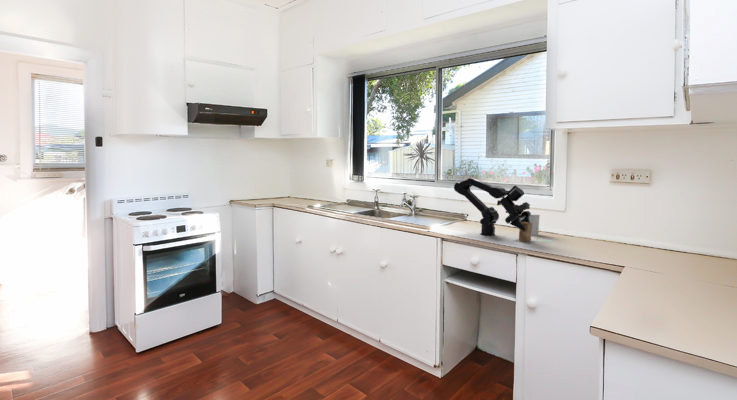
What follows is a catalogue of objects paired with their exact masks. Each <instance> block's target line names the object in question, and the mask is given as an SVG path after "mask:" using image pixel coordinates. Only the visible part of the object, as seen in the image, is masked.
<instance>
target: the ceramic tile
mask: <svg viewBox="0 0 737 400" xmlns="http://www.w3.org/2000/svg"><path fill="white" fill-rule="evenodd" d="M536 241H537V243H538V242H540V243H548V244H554V241H555V240H553V239H546V238H545V239H544V238H537V240H536Z"/></svg>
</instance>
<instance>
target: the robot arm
mask: <svg viewBox="0 0 737 400" xmlns="http://www.w3.org/2000/svg"><path fill="white" fill-rule="evenodd" d="M471 187H475V188H477V189H479V190H481V191H484V192H486V193H487V194H489V195H490V196H491V197H493V198H494V199H496V200H497V199H498V200H497V201H496V202H497V204H496V206H502V207H503V208H504V210H505V213H506V214H508V216H506V217H505V219H504V221H505V223H506V224H507V225H508V224H509V225H512V226H513V227H515V228H517V229H519V230H520V229H521V230H523V231H525V228H524V226H523V225H522V223H521V222H529V223H530V221H529V216H530V214H531V213H532V212H530V206H531V204H529V202H527V201H525V202H523V203H522V204H515V203H514V202H518V200H520V198H522V197H523V196H524V195H525V192H524V190H523V189H521V188H520V187H518V186H517V185H514V186H513V187H511V188H510V189H509V190H506V189H505V188H504V187H500V186H493V185H491V184H489V183H486V182H484V181H482V180H479V179H478V178H475V177H469V178H467V179H465V180H463V181H460V182H459V181H458V182H455V183H454V185H453V190H454V191H455V192H456V193H458V194H459V195H461V196H463V197H464V198H466V199H467V200H468V201H469V202H470V203H471V204H472V205H473V206H474V207H475V208H476V209H477V210H478V211H479V212H480V213H481V217H482V218H481V219H480V220H479V222H480V225H481V230H480V231H481V232H480V233H479V235H481V236H483V235H484V236H489V237H492V236H495V233H496V227H495V225H496V223H497V221H498V220H499V218H500V216H499V211H498V210H496V209H495V208H494V207H493V206H491V207H488V206H487V205H486V204H485V203H484V202H483V201H482V200H481V199H480V198H479V197H477V195H476V194H475V193H473V192H472V190H471Z"/></svg>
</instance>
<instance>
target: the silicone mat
mask: <svg viewBox="0 0 737 400" xmlns="http://www.w3.org/2000/svg"><path fill="white" fill-rule="evenodd" d="M513 242H517V243H521V244H526V245H530V244H534V243H536V242H537V243H538V241H537V240H536V241H535V240H531V241H530V242H522V241H519V238H518V239H515V240H513Z"/></svg>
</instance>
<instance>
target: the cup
mask: <svg viewBox="0 0 737 400" xmlns="http://www.w3.org/2000/svg"><path fill="white" fill-rule="evenodd" d="M530 213H531V214H530V216H529V221H530V223H532V231H531V236H539V230H540V229H539V227H540V226H539V225H540V215H541V214H540V213H536V212H530Z"/></svg>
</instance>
